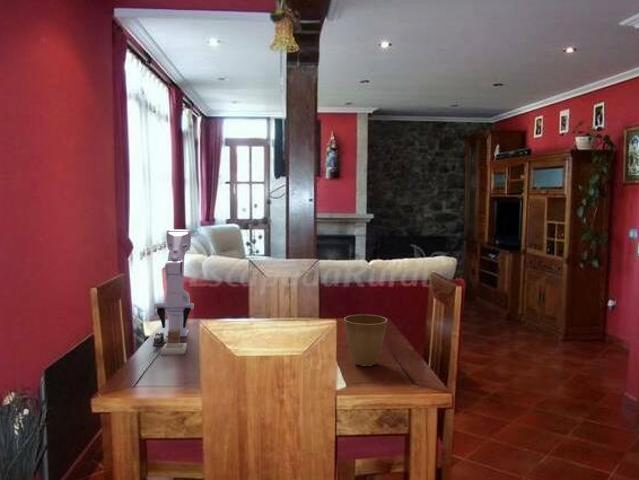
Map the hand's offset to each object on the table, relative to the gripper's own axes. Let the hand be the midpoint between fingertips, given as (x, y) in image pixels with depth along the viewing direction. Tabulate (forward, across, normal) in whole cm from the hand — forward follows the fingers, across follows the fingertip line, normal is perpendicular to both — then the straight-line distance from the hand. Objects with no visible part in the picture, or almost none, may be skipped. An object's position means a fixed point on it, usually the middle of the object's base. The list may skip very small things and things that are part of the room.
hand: (174, 327), depth 201 cm
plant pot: (+7, +69, -26) cm, 74 cm away
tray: (+7, +1, -8) cm, 11 cm away
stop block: (+7, 0, 0) cm, 7 cm away
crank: (+6, -6, -1) cm, 8 cm away
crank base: (+7, -3, +2) cm, 8 cm away
